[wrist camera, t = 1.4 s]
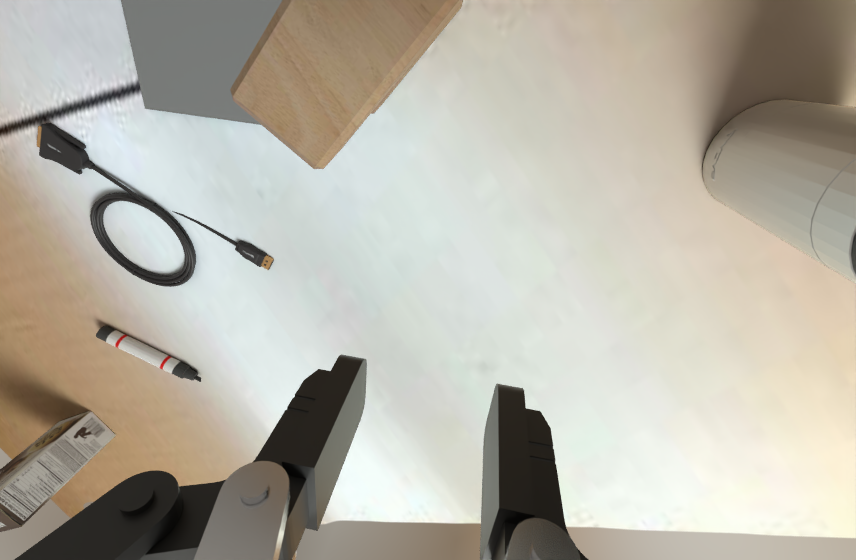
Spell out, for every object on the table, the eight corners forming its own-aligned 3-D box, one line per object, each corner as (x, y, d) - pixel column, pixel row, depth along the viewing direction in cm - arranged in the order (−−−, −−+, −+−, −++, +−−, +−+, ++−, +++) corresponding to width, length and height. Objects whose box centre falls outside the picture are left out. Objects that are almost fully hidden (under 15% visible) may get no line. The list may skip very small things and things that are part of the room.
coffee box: (86, 444, 72) (-14, 536, 58) (58, 420, 70) (-52, 509, 56) (118, 435, 69) (21, 529, 55) (90, 409, 67) (-18, 500, 53)
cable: (241, 329, 54) (235, 335, 53) (40, 214, 50) (28, 218, 49) (276, 256, 48) (270, 261, 46) (49, 117, 44) (36, 119, 42)
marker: (107, 332, 58) (95, 340, 56) (108, 322, 57) (96, 330, 55) (205, 379, 60) (196, 389, 58) (207, 371, 59) (198, 380, 57)
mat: (347, -110, 30) (344, -113, 30) (346, 135, 39) (344, 136, 39) (96, -132, 32) (91, -135, 32) (148, 108, 41) (145, 108, 40)
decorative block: (379, 107, 37) (316, 177, 21) (331, 59, 36) (218, 92, 19) (465, 6, 33) (474, -11, 16) (416, -57, 31) (367, -149, 14)
